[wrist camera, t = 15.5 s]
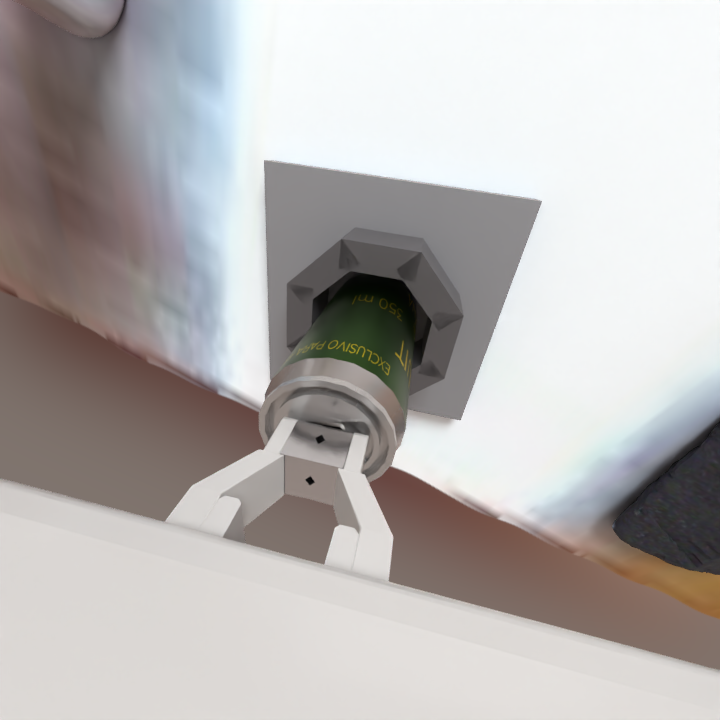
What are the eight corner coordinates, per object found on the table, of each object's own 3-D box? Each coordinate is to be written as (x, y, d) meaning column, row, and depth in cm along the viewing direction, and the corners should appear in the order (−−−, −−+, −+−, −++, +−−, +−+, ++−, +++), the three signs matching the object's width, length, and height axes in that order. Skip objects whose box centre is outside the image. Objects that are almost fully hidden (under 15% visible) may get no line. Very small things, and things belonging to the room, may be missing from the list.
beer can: (337, 343, 23) (264, 479, 13) (334, 266, 21) (238, 365, 11) (414, 349, 23) (398, 501, 12) (421, 270, 20) (409, 383, 10)
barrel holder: (535, 199, 18) (564, 209, 14) (459, 410, 26) (464, 455, 22) (273, 160, 19) (231, 159, 15) (276, 371, 27) (249, 406, 23)
